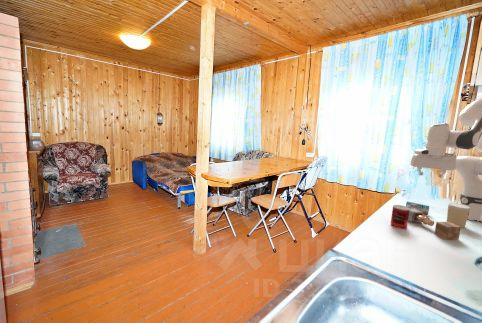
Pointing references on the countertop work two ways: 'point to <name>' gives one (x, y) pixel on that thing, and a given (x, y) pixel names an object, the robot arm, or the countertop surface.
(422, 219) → the tube
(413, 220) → the sleeve
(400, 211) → the canned food
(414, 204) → the blue thin box
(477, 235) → the countertop surface
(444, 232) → the socket
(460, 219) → the coffee cup
